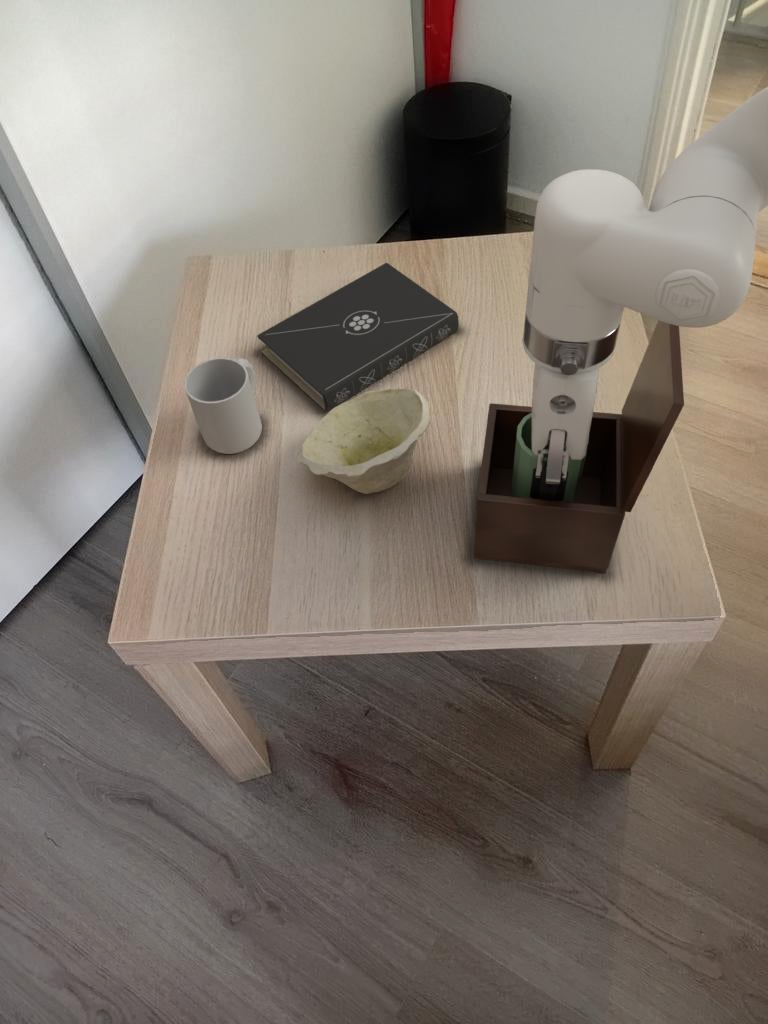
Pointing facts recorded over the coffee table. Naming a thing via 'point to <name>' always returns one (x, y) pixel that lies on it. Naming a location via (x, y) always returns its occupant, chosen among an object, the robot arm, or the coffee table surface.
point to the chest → (550, 524)
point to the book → (357, 335)
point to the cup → (225, 403)
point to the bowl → (368, 439)
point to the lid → (650, 409)
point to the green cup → (528, 461)
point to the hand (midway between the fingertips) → (548, 466)
